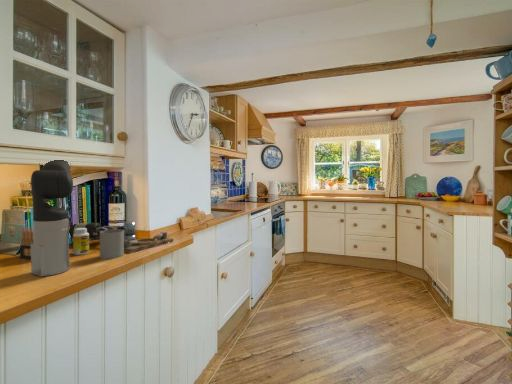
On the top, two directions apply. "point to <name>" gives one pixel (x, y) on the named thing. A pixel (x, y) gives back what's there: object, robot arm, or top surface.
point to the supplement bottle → (80, 241)
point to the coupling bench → (146, 243)
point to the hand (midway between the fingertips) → (122, 231)
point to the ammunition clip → (26, 243)
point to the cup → (111, 243)
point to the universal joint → (129, 231)
